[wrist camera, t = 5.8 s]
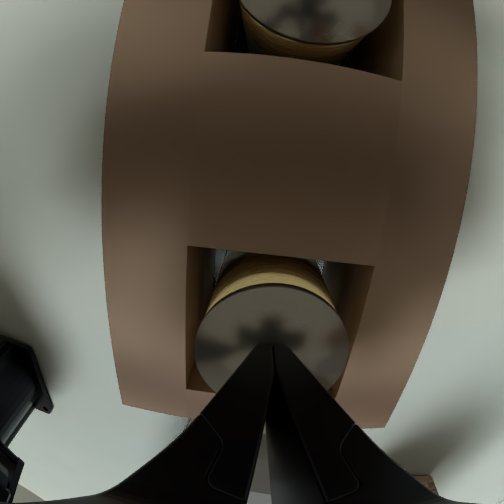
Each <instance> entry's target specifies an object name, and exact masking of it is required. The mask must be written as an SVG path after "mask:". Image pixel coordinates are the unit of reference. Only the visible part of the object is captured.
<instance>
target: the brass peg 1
mask: <svg viewBox="0 0 504 504" xmlns="http://www.w3.org/2000/svg"><path fill="white" fill-rule="evenodd" d="M239 3H240V8H241V13H242V18H243V24H244V29H245V34H246V40H247V45H248V49H249V53H250V54H259V55H269V56H278V57H287V58H294V59H301V60H308V61H314V62H320V63H326V64H332V65H338V64H339V63H340V62H341V61H342V60H343V59H344V58H345V57H346V56H347V55H348V53H349V52H350V51H351V50H352V49H353V48H354V47H355V46H356V45H357V44H358V43H359V42H360V41H361V40H362V39H363V38H364V37H365V36H367V35H368V34H369V33H371V32H372V31H374V30H375V29H376V28H377V27H378V26H379V25H380V24H381V23H382V22H383V20H384V19H385V17H386V16H387V14H388V12H389V10H390V7H391V3H392V0H239Z"/></svg>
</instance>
